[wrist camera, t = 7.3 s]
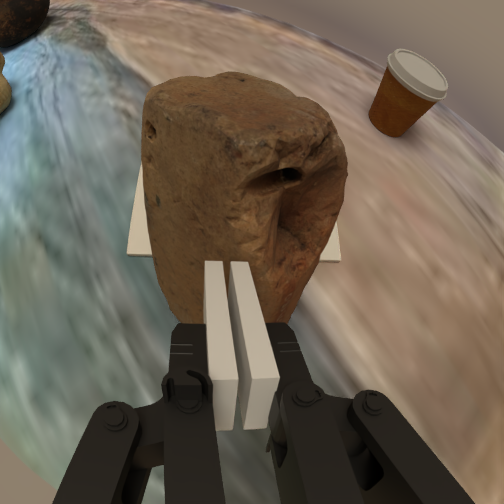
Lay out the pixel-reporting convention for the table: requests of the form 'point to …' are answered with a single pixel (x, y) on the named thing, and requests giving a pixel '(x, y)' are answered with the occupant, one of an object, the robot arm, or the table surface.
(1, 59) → the ceramic vessel
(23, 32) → the glass bottle
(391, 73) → the disposable coffee cup
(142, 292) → the table surface
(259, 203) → the block
